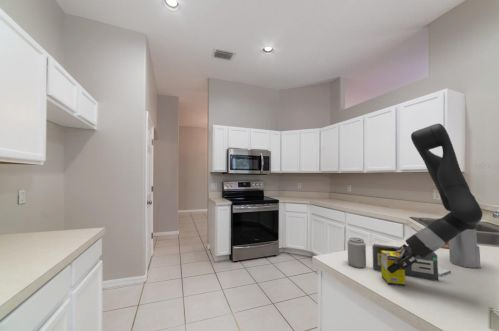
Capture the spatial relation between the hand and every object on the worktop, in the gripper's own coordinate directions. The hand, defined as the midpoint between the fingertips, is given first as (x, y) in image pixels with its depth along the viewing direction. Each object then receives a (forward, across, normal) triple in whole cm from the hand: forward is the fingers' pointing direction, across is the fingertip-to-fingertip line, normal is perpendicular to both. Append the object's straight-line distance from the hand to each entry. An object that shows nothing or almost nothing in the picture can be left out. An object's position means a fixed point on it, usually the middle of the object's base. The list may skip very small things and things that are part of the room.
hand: (388, 266), depth 81 cm
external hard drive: (-8, -22, +16) cm, 29 cm away
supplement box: (+3, 0, +5) cm, 6 cm away
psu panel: (-1, -10, +8) cm, 13 cm away
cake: (-19, -65, +27) cm, 73 cm away
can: (+12, -10, -4) cm, 16 cm away
